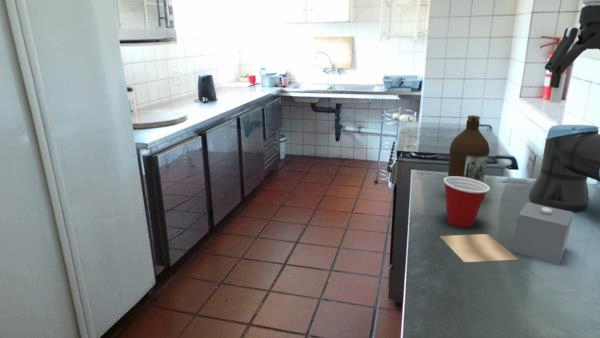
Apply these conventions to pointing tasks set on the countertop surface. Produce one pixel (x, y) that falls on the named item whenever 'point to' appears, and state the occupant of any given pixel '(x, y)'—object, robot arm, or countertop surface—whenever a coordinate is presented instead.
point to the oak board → (477, 248)
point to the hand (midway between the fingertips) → (581, 102)
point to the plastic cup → (463, 199)
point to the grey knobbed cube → (542, 232)
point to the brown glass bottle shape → (469, 152)
